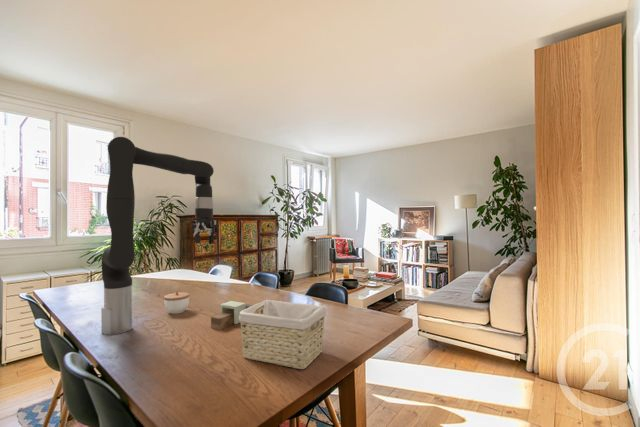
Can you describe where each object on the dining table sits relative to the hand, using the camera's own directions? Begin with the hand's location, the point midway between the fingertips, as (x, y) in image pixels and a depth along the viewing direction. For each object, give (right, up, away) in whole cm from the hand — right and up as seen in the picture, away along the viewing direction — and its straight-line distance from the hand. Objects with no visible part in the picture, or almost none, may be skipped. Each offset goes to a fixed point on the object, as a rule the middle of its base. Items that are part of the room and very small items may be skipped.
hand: (204, 243), depth 136 cm
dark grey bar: (+18, -32, -3) cm, 37 cm away
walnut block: (+14, -32, -12) cm, 37 cm away
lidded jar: (-15, -33, +5) cm, 36 cm away
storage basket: (+40, -32, -40) cm, 65 cm away
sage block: (+15, -32, -8) cm, 36 cm away
